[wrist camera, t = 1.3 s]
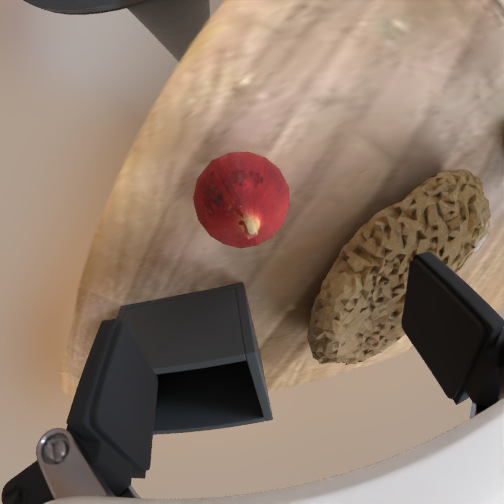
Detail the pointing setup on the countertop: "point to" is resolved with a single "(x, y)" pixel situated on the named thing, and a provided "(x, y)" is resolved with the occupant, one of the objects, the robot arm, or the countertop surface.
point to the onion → (241, 199)
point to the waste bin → (202, 359)
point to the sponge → (394, 265)
